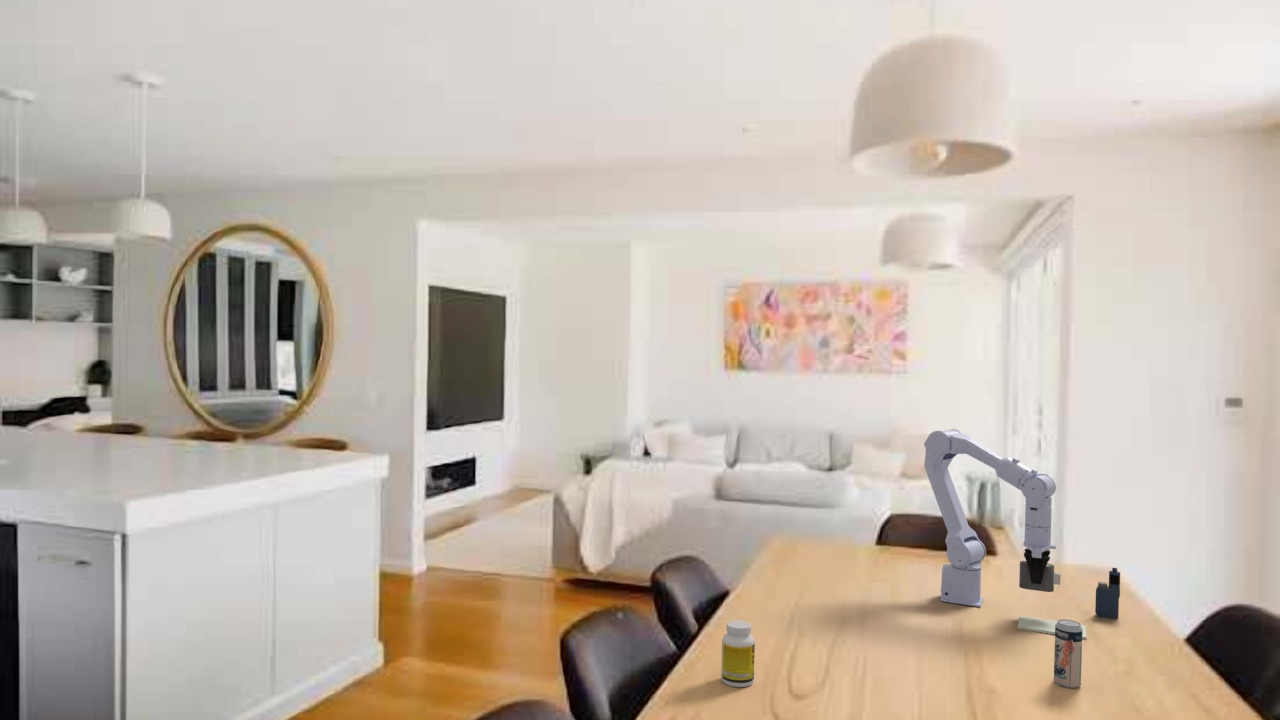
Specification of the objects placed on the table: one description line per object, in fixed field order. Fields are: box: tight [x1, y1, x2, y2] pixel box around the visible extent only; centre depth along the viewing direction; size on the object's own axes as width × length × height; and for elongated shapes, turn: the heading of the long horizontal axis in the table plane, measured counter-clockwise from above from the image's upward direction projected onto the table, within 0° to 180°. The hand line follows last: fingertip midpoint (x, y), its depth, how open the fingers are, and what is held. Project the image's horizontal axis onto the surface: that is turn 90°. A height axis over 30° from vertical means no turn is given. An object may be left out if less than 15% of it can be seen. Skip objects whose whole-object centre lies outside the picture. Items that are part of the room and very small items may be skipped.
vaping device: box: [1094, 567, 1121, 619], centre depth 202 cm, size 3×5×12 cm, turn 78°
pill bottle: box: [720, 619, 756, 688], centre depth 157 cm, size 6×6×11 cm
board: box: [1017, 615, 1087, 641], centre depth 192 cm, size 14×9×1 cm, turn 63°
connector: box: [1018, 560, 1061, 593], centre depth 199 cm, size 9×4×6 cm, turn 63°
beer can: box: [1053, 618, 1083, 689], centre depth 159 cm, size 5×5×12 cm
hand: (1036, 581), depth 199 cm, fingers closed on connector, 3 cm apart
